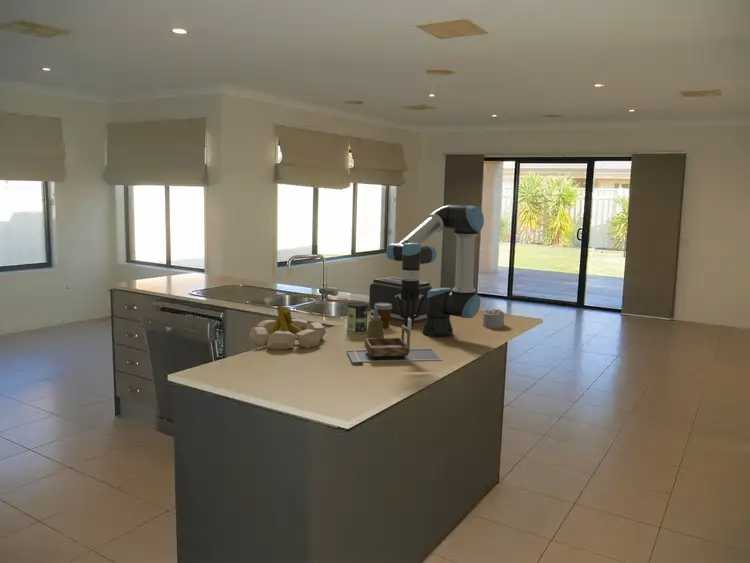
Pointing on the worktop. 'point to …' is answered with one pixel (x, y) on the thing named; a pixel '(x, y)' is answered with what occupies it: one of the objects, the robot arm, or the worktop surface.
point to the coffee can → (357, 318)
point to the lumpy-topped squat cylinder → (493, 318)
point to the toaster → (385, 293)
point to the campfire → (286, 332)
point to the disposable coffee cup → (384, 313)
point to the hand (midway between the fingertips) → (408, 333)
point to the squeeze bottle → (375, 326)
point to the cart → (388, 346)
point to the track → (413, 355)
